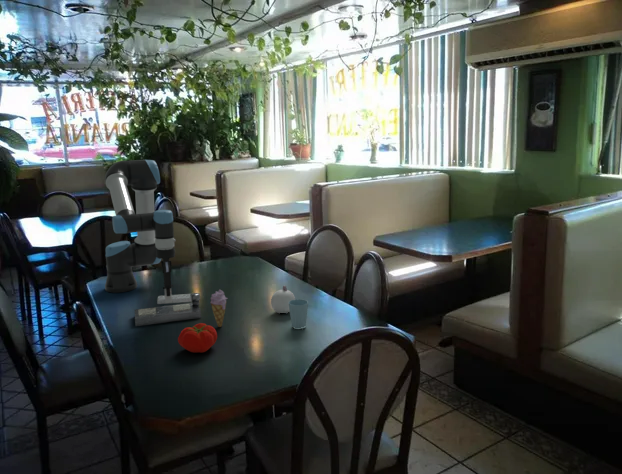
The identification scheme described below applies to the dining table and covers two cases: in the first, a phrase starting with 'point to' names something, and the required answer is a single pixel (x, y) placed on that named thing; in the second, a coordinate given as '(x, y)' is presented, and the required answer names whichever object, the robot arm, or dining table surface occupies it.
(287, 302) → the ornament
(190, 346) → the tomato
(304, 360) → the dining table surface
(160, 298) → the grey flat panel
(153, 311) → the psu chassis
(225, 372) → the dining table surface
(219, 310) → the ice cream cone
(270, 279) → the dining table surface
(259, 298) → the dining table surface
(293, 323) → the cup
